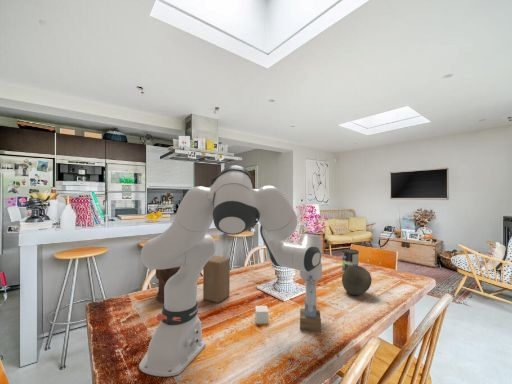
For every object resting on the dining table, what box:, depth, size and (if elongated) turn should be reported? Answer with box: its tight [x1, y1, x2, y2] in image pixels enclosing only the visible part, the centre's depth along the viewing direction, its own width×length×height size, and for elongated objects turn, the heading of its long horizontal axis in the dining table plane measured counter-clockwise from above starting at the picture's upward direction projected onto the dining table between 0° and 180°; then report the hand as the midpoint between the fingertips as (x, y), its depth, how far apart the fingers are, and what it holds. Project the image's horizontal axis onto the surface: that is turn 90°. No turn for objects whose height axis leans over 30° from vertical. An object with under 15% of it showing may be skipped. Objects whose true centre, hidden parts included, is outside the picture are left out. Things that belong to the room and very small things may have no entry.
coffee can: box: [341, 248, 360, 273], centre depth 163 cm, size 10×10×14 cm
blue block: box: [304, 296, 317, 318], centre depth 98 cm, size 4×4×6 cm
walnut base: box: [299, 307, 322, 333], centre depth 98 cm, size 8×8×5 cm
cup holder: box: [155, 266, 181, 305], centre depth 122 cm, size 18×24×25 cm
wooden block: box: [202, 255, 231, 304], centre depth 122 cm, size 10×10×20 cm
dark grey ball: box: [341, 264, 372, 296], centre depth 128 cm, size 14×14×15 cm
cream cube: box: [254, 305, 269, 325], centre depth 102 cm, size 5×5×5 cm
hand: (310, 305), depth 98 cm, fingers open, 7 cm apart
